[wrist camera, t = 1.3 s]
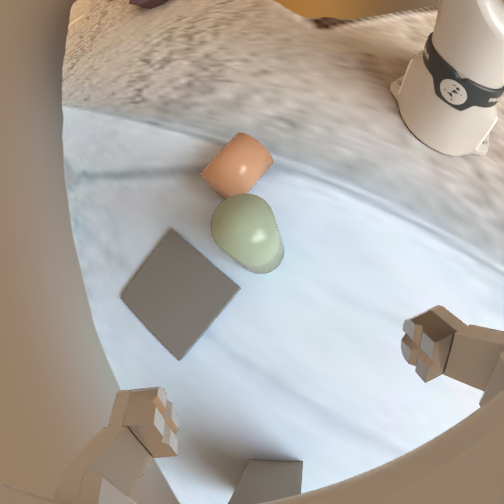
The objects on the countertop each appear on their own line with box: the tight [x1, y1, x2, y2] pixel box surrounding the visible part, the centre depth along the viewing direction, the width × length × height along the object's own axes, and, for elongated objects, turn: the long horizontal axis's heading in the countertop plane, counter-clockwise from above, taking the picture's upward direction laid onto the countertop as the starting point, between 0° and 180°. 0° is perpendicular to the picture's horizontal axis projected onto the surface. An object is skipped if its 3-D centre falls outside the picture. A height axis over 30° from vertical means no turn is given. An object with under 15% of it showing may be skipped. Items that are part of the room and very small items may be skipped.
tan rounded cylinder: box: [200, 133, 273, 199], centre depth 36 cm, size 7×6×6 cm
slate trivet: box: [120, 229, 241, 361], centre depth 36 cm, size 12×12×1 cm
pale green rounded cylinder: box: [211, 193, 284, 274], centre depth 31 cm, size 6×6×11 cm
